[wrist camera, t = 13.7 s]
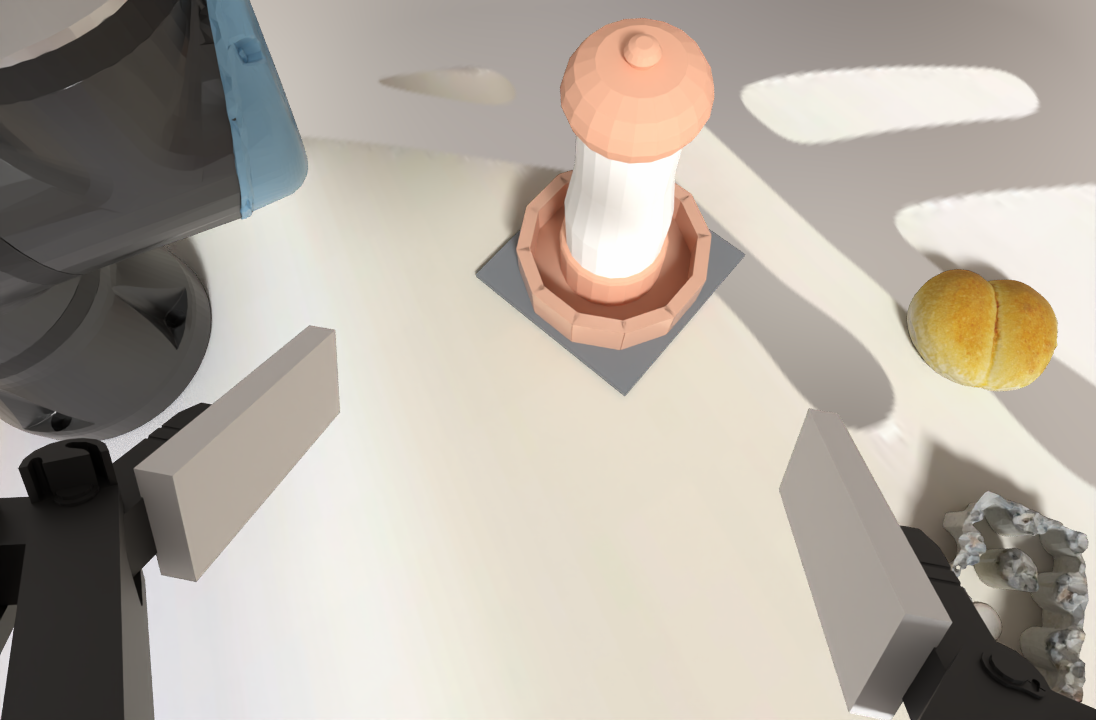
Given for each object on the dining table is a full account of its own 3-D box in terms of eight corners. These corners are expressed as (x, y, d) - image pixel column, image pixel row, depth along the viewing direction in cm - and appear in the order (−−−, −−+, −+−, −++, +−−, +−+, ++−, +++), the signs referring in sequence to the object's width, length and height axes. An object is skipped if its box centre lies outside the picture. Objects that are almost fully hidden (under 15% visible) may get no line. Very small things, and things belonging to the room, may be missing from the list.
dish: (486, 273, 44) (480, 252, 41) (598, 159, 47) (600, 131, 44) (624, 383, 41) (628, 369, 38) (734, 255, 44) (747, 232, 41)
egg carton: (1023, 712, 35) (1081, 732, 31) (897, 647, 36) (937, 658, 32) (1066, 542, 38) (1124, 541, 34) (947, 487, 39) (990, 480, 35)
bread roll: (907, 269, 44) (939, 242, 40) (1036, 300, 43) (1081, 275, 39) (893, 372, 42) (926, 353, 38) (1029, 408, 41) (1077, 392, 37)
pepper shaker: (646, 207, 45) (704, -36, 26) (672, 295, 42) (755, 96, 24) (550, 226, 44) (541, -7, 26) (571, 315, 42) (577, 129, 24)
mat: (476, 276, 44) (475, 274, 44) (597, 154, 48) (597, 151, 47) (624, 396, 41) (625, 394, 41) (743, 256, 44) (745, 254, 44)
